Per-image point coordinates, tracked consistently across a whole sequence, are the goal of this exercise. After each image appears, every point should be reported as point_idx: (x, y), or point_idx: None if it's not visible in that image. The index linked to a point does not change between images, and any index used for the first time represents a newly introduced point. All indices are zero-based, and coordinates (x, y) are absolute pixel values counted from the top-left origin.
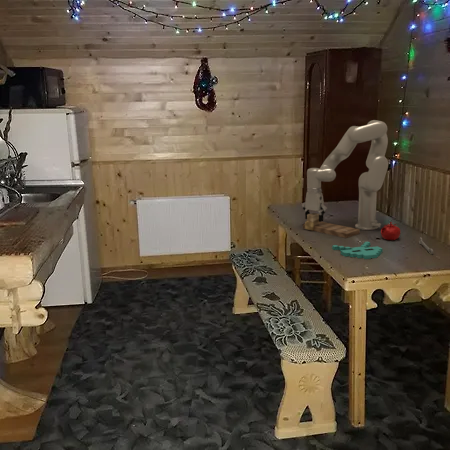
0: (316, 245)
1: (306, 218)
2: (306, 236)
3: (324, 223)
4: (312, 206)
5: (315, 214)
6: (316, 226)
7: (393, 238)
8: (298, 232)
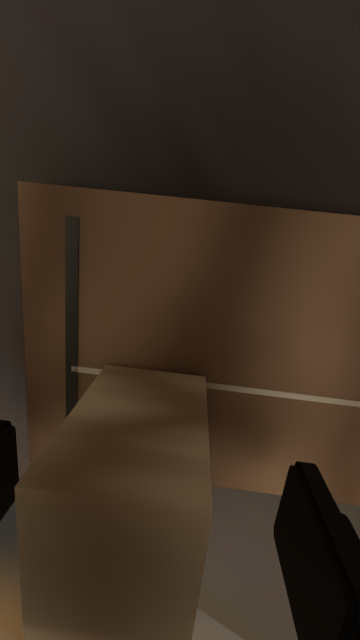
0: None
1: (11, 502)
2: (246, 606)
3: (231, 275)
4: None
5: (161, 602)
6: (224, 465)
7: None
8: None
